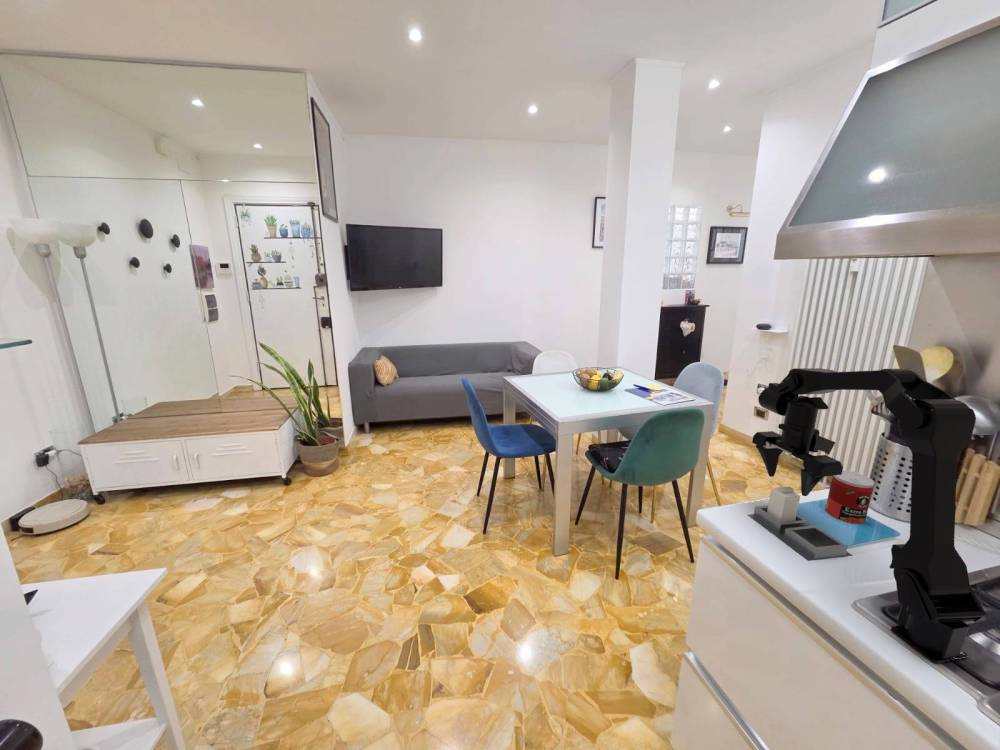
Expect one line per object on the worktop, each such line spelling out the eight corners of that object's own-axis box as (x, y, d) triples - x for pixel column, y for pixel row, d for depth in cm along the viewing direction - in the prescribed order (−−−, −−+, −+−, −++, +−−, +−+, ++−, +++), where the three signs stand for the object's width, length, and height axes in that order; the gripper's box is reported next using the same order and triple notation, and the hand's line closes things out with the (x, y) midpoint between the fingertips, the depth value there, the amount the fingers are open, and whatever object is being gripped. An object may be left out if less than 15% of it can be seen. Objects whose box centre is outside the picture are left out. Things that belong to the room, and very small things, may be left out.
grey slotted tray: (852, 558, 86) (855, 546, 86) (807, 564, 85) (810, 551, 84) (785, 514, 103) (787, 503, 102) (746, 517, 101) (748, 506, 100)
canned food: (840, 526, 98) (850, 485, 95) (816, 508, 105) (825, 469, 103) (873, 527, 97) (884, 485, 95) (846, 509, 105) (856, 470, 103)
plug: (794, 526, 96) (801, 492, 94) (779, 528, 95) (786, 493, 93) (780, 516, 100) (786, 483, 98) (765, 518, 99) (771, 484, 97)
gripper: (872, 436, 84) (856, 504, 88) (794, 408, 102) (784, 465, 106) (826, 439, 82) (811, 508, 86) (755, 410, 100) (746, 468, 104)
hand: (787, 485), depth 95 cm, fingers open, 9 cm apart
